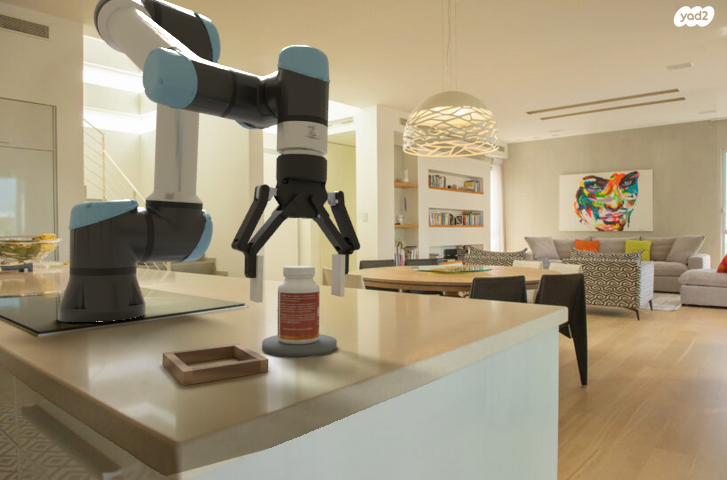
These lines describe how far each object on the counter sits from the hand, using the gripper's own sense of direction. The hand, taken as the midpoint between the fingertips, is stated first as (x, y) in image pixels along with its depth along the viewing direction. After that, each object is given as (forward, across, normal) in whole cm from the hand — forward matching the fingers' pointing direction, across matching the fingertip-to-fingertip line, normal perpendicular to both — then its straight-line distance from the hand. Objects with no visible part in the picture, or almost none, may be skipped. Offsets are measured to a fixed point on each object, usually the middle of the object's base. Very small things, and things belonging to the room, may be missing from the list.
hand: (299, 298), depth 70 cm
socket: (+7, -14, -4) cm, 16 cm away
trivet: (+7, 0, 0) cm, 7 cm away
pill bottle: (+6, 0, 0) cm, 7 cm away
